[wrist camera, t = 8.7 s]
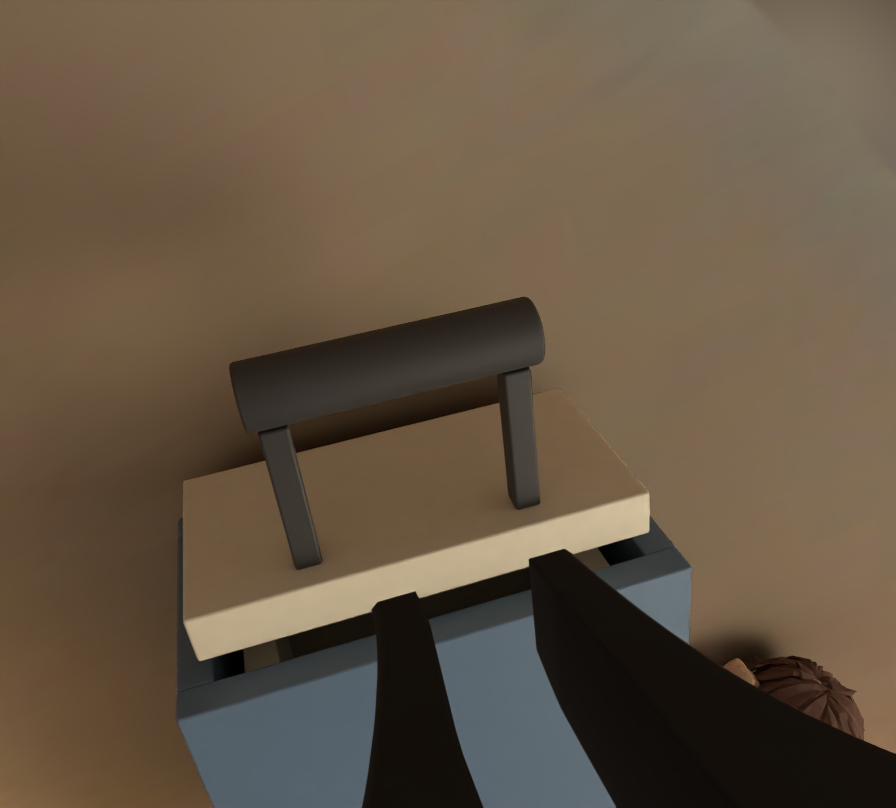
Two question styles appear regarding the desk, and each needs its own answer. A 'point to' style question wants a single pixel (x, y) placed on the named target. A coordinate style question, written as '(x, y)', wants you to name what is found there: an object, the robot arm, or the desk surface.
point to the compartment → (354, 700)
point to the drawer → (394, 489)
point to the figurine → (805, 690)
